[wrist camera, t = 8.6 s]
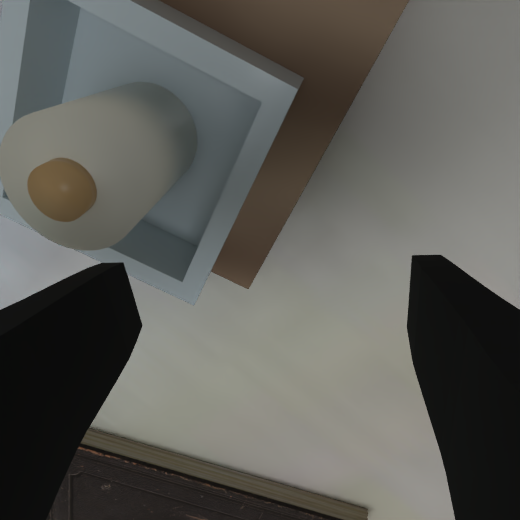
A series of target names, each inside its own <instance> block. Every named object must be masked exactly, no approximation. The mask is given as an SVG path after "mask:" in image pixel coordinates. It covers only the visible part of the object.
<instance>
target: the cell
mask: <svg viewBox="0 0 520 520" xmlns="http://www.w3.org/2000/svg"><path fill="white" fill-rule="evenodd" d="M196 151H197V132H196V127H195V124H194V121H193V119H192V116H191V114H190V113H189V111H188V109H187V108H186V106H185V105H184V104H183V103H182V101H181V100H180V99H179V98H178V97H177V96H175V95H174V94H173V93H172V92H170V91H169V90H167V89H165V88H164V87H162V86H159V85H156V84H153V83H149V82H133V83H128V84H125V85H122V86H119V87H115V88H112V89H109V90H105V91H102V92H99V93H96V94H92V95H89V96H86V97H82V98H79V99H76V100H72V101H69V102H66V103H63V104H59V105H56V106H53V107H49V108H46V109H43V110H39V111H36V112H33V113H30V114H28V115H25V116H23V117H22V118H20V119H18V120H17V121H16V122H15V123H14V124H13V125H11V127H10V128H9V129H8V131H7V132H6V134H5V136H4V137H3V139H2V143H1V146H0V177H1V181H2V184H3V187H4V190H5V192H6V194H7V196H8V198H9V200H10V202H11V203H12V205H13V207H14V208H15V210H16V211H17V212H18V213H19V215H20V216H21V217H22V218H23V219H24V220H25V221H26V222H27V224H29V225H30V226H31V227H32V228H33V229H34V230H36V231H37V232H38V233H40V234H41V235H42V236H44V237H46V238H47V239H49V240H51V241H53V242H55V243H57V244H59V245H62V246H65V247H68V248H72V249H76V250H84V251H92V250H100V249H104V248H108V247H110V246H112V245H114V244H116V243H118V242H119V241H121V240H122V239H123V238H124V237H125V236H126V235H127V234H128V233H129V232H130V231H131V230H132V229H133V228H134V227H135V226H136V224H137V223H138V222H139V221H140V220H141V219H142V218H143V217H144V216H145V215H146V214H147V213H148V212H149V211H150V210H151V209H152V207H153V206H154V205H155V204H156V203H157V202H158V201H159V200H160V199H161V198H162V197H163V196H164V195H165V194H166V193H167V192H168V190H169V189H170V188H171V187H172V186H173V185H174V184H175V183H176V182H177V181H178V180H179V179H180V178H181V177H182V176H183V174H184V173H185V172H186V171H187V170H188V169H189V168H190V166H191V164H192V163H193V160H194V158H195V155H196Z"/></svg>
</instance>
